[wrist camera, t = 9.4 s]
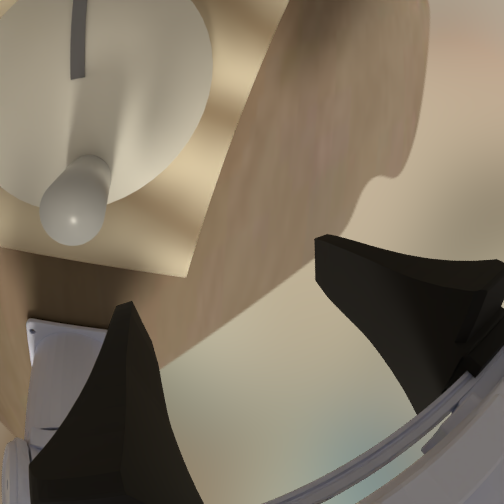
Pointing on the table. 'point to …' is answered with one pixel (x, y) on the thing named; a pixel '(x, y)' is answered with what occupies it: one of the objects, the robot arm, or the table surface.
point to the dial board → (180, 169)
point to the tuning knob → (96, 102)
